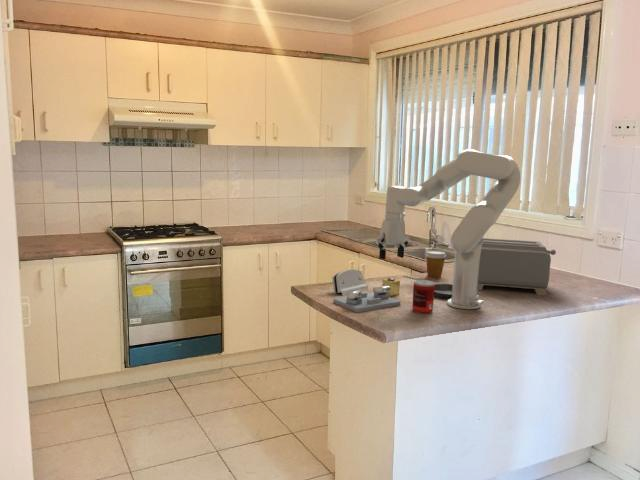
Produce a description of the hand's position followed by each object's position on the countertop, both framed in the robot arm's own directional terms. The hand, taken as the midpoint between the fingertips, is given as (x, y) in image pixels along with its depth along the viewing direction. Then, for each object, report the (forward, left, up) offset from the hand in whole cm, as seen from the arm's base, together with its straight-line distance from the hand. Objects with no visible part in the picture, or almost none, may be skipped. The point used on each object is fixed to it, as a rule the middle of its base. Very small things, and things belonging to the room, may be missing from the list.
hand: (391, 257), depth 232 cm
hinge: (+12, +12, -16) cm, 23 cm away
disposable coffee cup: (+14, -39, -15) cm, 44 cm away
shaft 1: (-9, +25, -15) cm, 30 cm away
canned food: (-24, +5, -15) cm, 29 cm away
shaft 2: (-7, +11, -15) cm, 20 cm away
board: (-7, +18, -15) cm, 24 cm away
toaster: (-16, -57, -16) cm, 61 cm away
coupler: (0, 0, -15) cm, 15 cm away
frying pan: (-5, -20, -16) cm, 26 cm away
